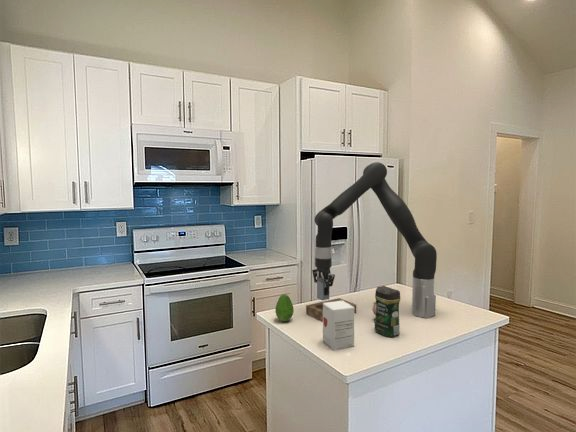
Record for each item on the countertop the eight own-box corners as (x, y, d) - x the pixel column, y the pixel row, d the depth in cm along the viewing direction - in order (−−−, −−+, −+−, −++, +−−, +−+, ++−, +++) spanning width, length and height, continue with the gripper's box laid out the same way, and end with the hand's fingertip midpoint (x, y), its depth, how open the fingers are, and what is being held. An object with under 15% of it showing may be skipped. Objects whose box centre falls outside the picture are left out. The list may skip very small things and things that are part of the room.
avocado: (279, 325, 159) (279, 297, 158) (273, 319, 167) (272, 292, 166) (296, 322, 162) (296, 295, 161) (289, 316, 170) (289, 290, 169)
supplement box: (321, 340, 143) (322, 302, 142) (342, 337, 147) (342, 299, 145) (333, 350, 135) (333, 309, 134) (354, 346, 138) (355, 306, 137)
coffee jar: (371, 330, 153) (371, 286, 151) (385, 327, 157) (385, 283, 155) (388, 339, 145) (389, 291, 143) (403, 334, 149) (404, 288, 147)
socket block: (356, 313, 174) (356, 303, 174) (322, 321, 163) (322, 311, 163) (339, 306, 184) (339, 297, 184) (306, 313, 173) (306, 304, 173)
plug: (329, 299, 170) (329, 277, 169) (322, 300, 168) (322, 278, 167) (323, 296, 173) (323, 275, 172) (316, 298, 171) (317, 276, 170)
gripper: (340, 258, 165) (339, 296, 166) (320, 253, 177) (320, 289, 178) (326, 260, 161) (326, 299, 162) (307, 254, 173) (307, 291, 174)
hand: (323, 293), depth 170 cm, fingers closed on plug, 4 cm apart
